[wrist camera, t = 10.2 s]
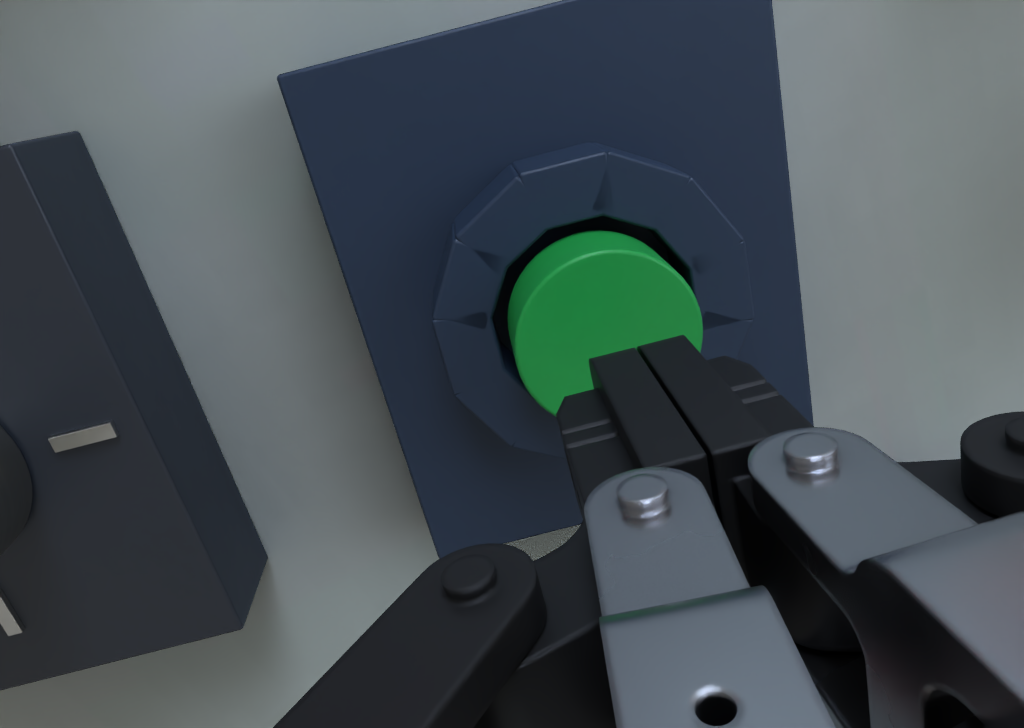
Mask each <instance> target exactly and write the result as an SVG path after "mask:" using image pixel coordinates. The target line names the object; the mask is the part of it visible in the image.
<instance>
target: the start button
mask: <svg viewBox="0 0 1024 728" xmlns="http://www.w3.org/2000/svg"><path fill="white" fill-rule="evenodd" d="M508 330H509V336H510V340H511V345H512V349H513V353H514V357H515V361H516V366H517V369H518V372H519V375H520V378H521V379H522V381H523V383H524V385H525V387H526V389H527V390H528V392H529V393H530V395H531V396H532V397H533V398H534V399H535V400H536V402H537V403H538V404H539V405H540V406H542V407H543V408H544V409H545V410H546V411H548V412H549V413H551V414H552V415H554V416H556V413H557V411H558V409H559V407H560V405H561V403H562V401H563V399H564V397H565V396H569V395H573V394H577V393H581V392H584V391H588V390H592V389H594V387H593V382H592V378H591V373H590V367H589V359H590V358H594V357H598V356H602V355H606V354H610V353H614V352H618V351H622V350H626V349H630V348H636V350H637V347H638V346H641V345H645V344H649V343H653V342H657V341H660V340H664V339H668V338H672V337H676V336H680V335H684V336H686V337H687V339H688V340H689V341H690V342H691V343H692V344H693V345H694V347H695V348H696V349H697V350H698V351H699V352H701V347H702V340H703V324H702V316H701V312H700V307H699V305H698V302H697V300H696V297H695V295H694V293H693V292H692V290H691V288H690V286H689V285H688V284H687V282H686V281H685V280H684V278H683V277H682V276H681V275H680V274H679V273H678V272H677V271H676V270H675V269H674V268H672V267H671V266H670V265H669V264H668V263H667V262H666V261H665V260H664V259H663V258H661V257H660V256H659V255H658V254H657V253H656V252H655V251H654V250H653V249H651V248H650V247H649V246H647V245H646V244H645V243H643V242H641V241H639V240H637V239H635V238H634V237H631V236H628V235H625V234H623V233H618V232H613V231H603V230H596V231H585V232H580V233H575V234H572V235H569V236H566V237H564V238H562V239H560V240H558V241H555V242H554V243H552V244H550V245H549V246H547V247H546V248H544V249H543V250H542V251H541V252H539V253H538V254H537V255H536V256H535V257H534V258H533V259H532V260H531V261H530V262H529V263H528V264H527V266H526V267H525V268H524V270H523V271H522V273H521V274H520V276H519V278H518V280H517V281H516V283H515V286H514V288H513V291H512V294H511V297H510V301H509V306H508Z"/></svg>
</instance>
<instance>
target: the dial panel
mask: <svg viewBox="0 0 1024 728" xmlns="http://www.w3.org/2000/svg"><path fill="white" fill-rule="evenodd" d="M0 426H1V427H2V428H3V429H4V430H5V431H6V432H7V434H8V435H9V436H10V437H11V438H12V439H13V441H14V442H15V444H16V445H17V447H18V448H19V450H20V452H21V454H22V456H23V458H24V460H25V462H26V464H27V467H28V470H29V473H30V477H31V483H32V504H31V510H30V514H29V517H28V520H27V522H26V524H25V526H24V528H23V530H22V531H21V532H20V534H19V535H18V536H17V538H16V539H15V540H14V541H13V542H12V543H11V545H10V546H9V547H8V548H7V549H6V550H5V551H4V552H3V554H2V555H1V556H0V690H4V689H8V688H12V687H16V686H20V685H24V684H28V683H32V682H36V681H40V680H43V679H47V678H51V677H55V676H59V675H63V674H67V673H71V672H75V671H79V670H83V669H87V668H91V667H95V666H99V665H103V664H107V663H111V662H115V661H119V660H123V659H126V658H130V657H134V656H138V655H142V654H146V653H150V652H154V651H158V650H162V649H166V648H170V647H174V646H178V645H182V644H186V643H190V642H194V641H198V640H202V639H206V638H209V637H213V636H217V635H221V634H225V633H229V632H233V631H237V630H241V629H242V628H243V627H244V624H245V621H246V618H247V615H248V613H249V610H250V607H251V604H252V601H253V598H254V595H255V593H256V590H257V587H258V584H259V581H260V578H261V576H262V573H263V570H264V567H265V564H266V561H267V559H268V556H267V554H266V552H265V550H264V547H263V545H262V543H261V541H260V538H259V536H258V534H257V532H256V529H255V527H254V525H253V522H252V520H251V518H250V516H249V513H248V511H247V509H246V507H245V504H244V502H243V500H242V498H241V495H240V493H239V491H238V489H237V486H236V484H235V482H234V480H233V477H232V475H231V473H230V471H229V468H228V466H227V464H226V462H225V459H224V457H223V455H222V453H221V450H220V448H219V446H218V444H217V441H216V439H215V437H214V434H213V432H212V430H211V428H210V425H209V423H208V421H207V419H206V416H205V414H204V412H203V410H202V407H201V405H200V403H199V401H198V398H197V396H196V394H195V392H194V389H193V387H192V385H191V383H190V380H189V378H188V376H187V374H186V371H185V369H184V367H183V365H182V362H181V360H180V358H179V356H178V353H177V351H176V349H175V346H174V344H173V342H172V340H171V337H170V335H169V333H168V331H167V328H166V326H165V324H164V322H163V319H162V317H161V315H160V313H159V310H158V308H157V306H156V304H155V301H154V299H153V297H152V295H151V292H150V290H149V288H148V286H147V283H146V281H145V279H144V277H143V274H142V272H141V270H140V268H139V265H138V263H137V261H136V258H135V256H134V254H133V252H132V249H131V247H130V245H129V243H128V240H127V238H126V236H125V234H124V231H123V229H122V227H121V225H120V222H119V220H118V218H117V216H116V213H115V211H114V209H113V207H112V204H111V202H110V200H109V198H108V195H107V193H106V191H105V189H104V186H103V184H102V182H101V180H100V177H99V175H98V173H97V171H96V168H95V166H94V164H93V161H92V159H91V157H90V155H89V152H88V150H87V148H86V146H85V143H84V141H83V139H82V137H81V134H80V133H79V132H78V131H73V132H68V133H63V134H58V135H53V136H47V137H42V138H37V139H32V140H27V141H22V142H17V143H12V144H7V145H3V146H0Z"/></svg>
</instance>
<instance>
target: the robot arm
mask: <svg viewBox="0 0 1024 728" xmlns="http://www.w3.org/2000/svg"><path fill="white" fill-rule="evenodd" d="M589 367H590V373H591V378H592V382H593V387H594V389H592V390H588V391H584V392H581V393H577V394H573V395H569V396H565V397H564V399H563V401H562V403H561V405H560V407H559V409H558V411H557V413H556V417H557V421H558V425H559V429H560V433H561V437H562V442H563V446H564V450H565V454H566V458H567V462H568V466H569V470H570V474H571V479H572V483H573V487H574V491H575V495H576V499H577V502H578V505H579V509H580V512H581V515H582V518H583V521H582V524H581V525H580V527H579V529H578V530H577V531H576V533H575V534H574V535H573V536H572V537H571V538H570V539H569V540H568V541H567V542H566V543H564V544H563V545H562V546H560V547H559V548H557V549H556V550H554V551H552V552H551V553H549V554H547V555H545V556H543V557H541V558H539V559H537V560H535V561H533V560H532V559H531V558H530V557H529V555H528V554H526V553H525V552H524V551H522V550H520V549H518V548H516V547H513V546H510V545H506V544H498V543H487V544H478V545H474V546H469V547H466V548H463V549H459V550H457V551H454V552H452V553H450V554H448V555H446V556H444V557H442V558H441V559H439V560H437V561H436V562H435V563H433V564H432V565H430V566H429V567H428V568H427V569H426V570H425V571H424V572H423V573H422V574H421V575H420V576H419V577H418V578H417V579H416V580H415V581H414V582H413V583H412V584H411V585H410V586H409V587H408V588H407V589H406V590H405V591H404V592H403V593H402V594H401V595H400V596H399V597H398V598H397V600H396V601H395V602H394V603H393V604H392V605H391V606H390V607H389V608H388V609H387V610H386V611H385V612H384V613H383V614H382V615H381V616H380V617H379V618H378V619H377V620H376V621H375V622H374V623H373V624H372V625H371V626H370V628H369V629H368V630H367V631H366V632H365V633H364V634H363V635H362V636H361V637H360V638H359V639H358V640H357V641H356V642H355V643H354V644H353V645H352V646H351V647H350V648H349V649H348V650H347V651H346V652H345V653H344V654H343V656H342V657H341V658H340V659H339V660H338V661H337V662H336V663H335V664H334V665H333V666H332V667H331V668H330V669H329V670H328V671H327V672H326V673H325V674H324V675H323V676H322V677H321V678H320V679H319V680H318V681H317V682H316V683H315V685H314V686H313V687H312V688H311V689H310V690H309V691H308V692H307V693H306V694H305V695H304V696H303V697H302V698H301V699H300V700H299V701H298V702H297V703H296V704H295V705H294V706H293V707H292V708H291V709H290V710H289V711H288V713H287V714H286V715H285V716H284V717H283V718H282V719H281V720H280V721H279V722H278V723H277V724H276V725H275V726H274V727H273V728H1024V412H1011V413H1004V414H998V415H994V416H990V417H987V418H984V419H982V420H979V421H977V422H975V423H974V424H972V425H970V426H969V427H968V428H967V429H966V430H965V431H964V433H963V434H962V436H961V442H960V445H961V459H956V460H939V461H921V462H896V461H894V460H893V459H892V458H890V457H889V456H888V455H886V454H885V453H884V452H882V451H881V450H880V449H878V448H877V447H876V446H874V445H873V444H872V443H870V442H869V441H867V440H866V439H864V438H863V437H861V436H859V435H856V434H854V433H851V432H848V431H844V430H839V429H834V428H824V427H814V426H813V425H812V424H811V423H810V422H809V421H808V420H807V419H806V418H805V417H804V416H803V415H802V414H801V413H800V412H799V411H798V410H797V409H796V408H794V407H793V406H792V405H791V404H790V403H789V402H788V401H787V400H786V399H785V398H784V397H783V396H782V395H779V392H778V391H777V390H776V389H775V388H774V387H773V386H772V385H771V384H770V383H769V382H768V383H767V381H766V379H765V378H764V377H763V376H762V375H761V374H760V373H759V372H758V371H757V370H756V369H755V368H754V367H753V366H752V365H751V364H748V363H745V362H742V361H739V360H736V359H734V358H731V357H728V356H721V357H717V358H713V359H709V360H706V359H705V358H704V357H703V356H702V355H701V353H700V352H699V351H698V350H697V349H696V348H695V347H694V345H693V344H692V343H691V342H690V341H689V340H688V339H687V337H686V336H684V335H680V336H676V337H672V338H668V339H664V340H660V341H657V342H653V343H649V344H645V345H641V346H638V347H637V350H636V348H630V349H626V350H622V351H618V352H614V353H610V354H606V355H602V356H598V357H594V358H590V359H589Z"/></svg>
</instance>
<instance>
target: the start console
mask: <svg viewBox="0 0 1024 728" xmlns="http://www.w3.org/2000/svg"><path fill="white" fill-rule="evenodd" d="M277 81H278V84H279V87H280V89H281V92H282V95H283V98H284V101H285V104H286V107H287V110H288V113H289V116H290V119H291V122H292V125H293V128H294V131H295V134H296V137H297V140H298V143H299V146H300V149H301V152H302V155H303V158H304V161H305V163H306V166H307V169H308V172H309V175H310V178H311V181H312V184H313V187H314V190H315V193H316V196H317V199H318V202H319V205H320V208H321V211H322V214H323V217H324V220H325V223H326V226H327V229H328V232H329V235H330V237H331V240H332V243H333V246H334V249H335V252H336V255H337V258H338V261H339V264H340V267H341V270H342V273H343V276H344V279H345V282H346V285H347V288H348V291H349V294H350V297H351V300H352V303H353V306H354V309H355V311H356V314H357V317H358V320H359V323H360V326H361V329H362V332H363V335H364V338H365V341H366V344H367V347H368V350H369V353H370V356H371V359H372V362H373V365H374V368H375V371H376V374H377V377H378V380H379V383H380V385H381V388H382V391H383V394H384V397H385V400H386V403H387V406H388V409H389V412H390V415H391V418H392V421H393V424H394V427H395V430H396V433H397V436H398V439H399V442H400V445H401V448H402V451H403V454H404V456H405V459H406V462H407V465H408V468H409V471H410V474H411V477H412V480H413V483H414V486H415V489H416V492H417V495H418V498H419V501H420V504H421V507H422V510H423V513H424V516H425V519H426V522H427V525H428V528H429V530H430V533H431V536H432V539H433V542H434V545H435V548H436V551H437V554H438V557H439V558H440V559H441V558H442V557H444V556H446V555H448V554H450V553H452V552H454V551H457V550H459V549H463V548H466V547H469V546H474V545H478V544H487V543H498V544H504V543H508V542H512V541H516V540H520V539H524V538H528V537H532V536H535V535H539V534H543V533H547V532H551V531H555V530H559V529H563V528H567V527H571V526H575V525H579V524H582V521H583V518H582V515H581V512H580V509H579V505H578V502H577V499H576V495H575V491H574V487H573V483H572V479H571V474H570V470H569V466H568V462H567V458H566V454H565V450H564V446H563V442H562V437H561V433H560V429H559V425H558V421H557V417H556V416H554V415H552V414H551V413H549V412H548V411H546V410H545V409H544V408H543V407H542V406H540V405H539V404H538V403H537V402H536V400H535V399H534V398H533V397H532V396H531V395H530V393H529V392H528V390H527V389H526V387H525V385H524V383H523V381H522V379H521V378H520V375H519V372H518V369H517V366H516V361H515V357H514V353H513V349H512V345H511V340H510V336H509V330H508V306H509V301H510V297H511V294H512V291H513V288H514V286H515V283H516V281H517V280H518V278H519V276H520V274H521V273H522V271H523V270H524V268H525V267H526V266H527V264H528V263H529V262H530V261H531V260H532V259H533V258H534V257H535V256H536V255H537V254H538V253H539V252H541V251H542V250H543V249H544V248H546V247H547V246H549V245H550V244H552V243H554V242H555V241H558V240H560V239H562V238H564V237H566V236H569V235H572V234H575V233H580V232H585V231H596V230H603V231H613V232H618V233H623V234H625V235H628V236H631V237H634V238H635V239H637V240H639V241H641V242H643V243H645V244H646V245H647V246H649V247H650V248H651V249H653V250H654V251H655V252H656V253H657V254H658V255H659V256H660V257H661V258H663V259H664V260H665V261H666V262H667V263H668V264H669V265H670V266H671V267H672V268H674V269H675V270H676V271H677V272H678V273H679V274H680V275H681V276H682V277H683V278H684V280H685V281H686V282H687V284H688V285H689V286H690V288H691V290H692V292H693V293H694V295H695V297H696V300H697V302H698V305H699V307H700V312H701V316H702V324H703V340H702V347H701V352H700V353H701V355H702V356H703V357H704V358H705V359H706V360H709V359H713V358H717V357H721V356H728V357H731V358H734V359H736V360H739V361H742V362H745V363H748V364H751V365H752V366H753V367H754V368H755V369H756V370H757V371H758V372H759V373H760V374H761V375H762V376H763V377H764V378H765V379H766V381H767V383H768V382H769V383H770V384H771V385H772V386H773V387H774V388H775V389H776V390H777V391H778V392H779V395H782V396H783V397H784V398H785V399H786V400H787V401H788V402H789V403H790V404H791V405H792V406H793V407H794V408H796V409H797V410H798V411H799V412H800V413H801V414H802V415H803V416H804V417H805V418H806V419H807V420H808V421H809V422H810V423H811V424H812V425H813V415H812V405H811V395H810V385H809V375H808V364H807V354H806V344H805V334H804V324H803V314H802V303H801V293H800V283H799V273H798V263H797V253H796V242H795V232H794V222H793V212H792V202H791V192H790V181H789V171H788V161H787V151H786V141H785V131H784V120H783V110H782V100H781V90H780V80H779V70H778V59H777V49H776V39H775V29H774V19H773V9H772V0H562V1H559V2H555V3H551V4H547V5H543V6H539V7H536V8H532V9H528V10H524V11H520V12H517V13H513V14H509V15H505V16H501V17H497V18H494V19H490V20H486V21H482V22H478V23H474V24H471V25H467V26H463V27H459V28H455V29H452V30H448V31H444V32H440V33H436V34H432V35H429V36H425V37H421V38H417V39H413V40H410V41H406V42H402V43H398V44H394V45H390V46H387V47H383V48H379V49H375V50H371V51H368V52H364V53H360V54H356V55H352V56H348V57H345V58H341V59H337V60H333V61H329V62H326V63H322V64H318V65H314V66H310V67H306V68H303V69H299V70H295V71H291V72H287V73H283V74H280V75H278V76H277Z"/></svg>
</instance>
